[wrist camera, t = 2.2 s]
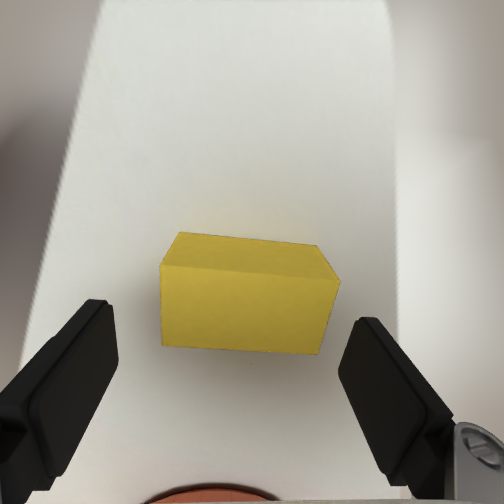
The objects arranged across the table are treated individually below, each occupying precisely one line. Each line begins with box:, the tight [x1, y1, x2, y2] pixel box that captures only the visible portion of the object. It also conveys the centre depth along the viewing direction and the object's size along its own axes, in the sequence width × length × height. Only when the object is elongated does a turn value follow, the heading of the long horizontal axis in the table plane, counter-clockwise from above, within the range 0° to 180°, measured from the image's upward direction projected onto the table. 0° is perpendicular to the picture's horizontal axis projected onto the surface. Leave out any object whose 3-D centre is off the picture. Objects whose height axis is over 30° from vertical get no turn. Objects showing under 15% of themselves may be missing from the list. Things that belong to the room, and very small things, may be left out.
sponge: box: [160, 232, 340, 355], centre depth 12 cm, size 4×7×4 cm, turn 83°
